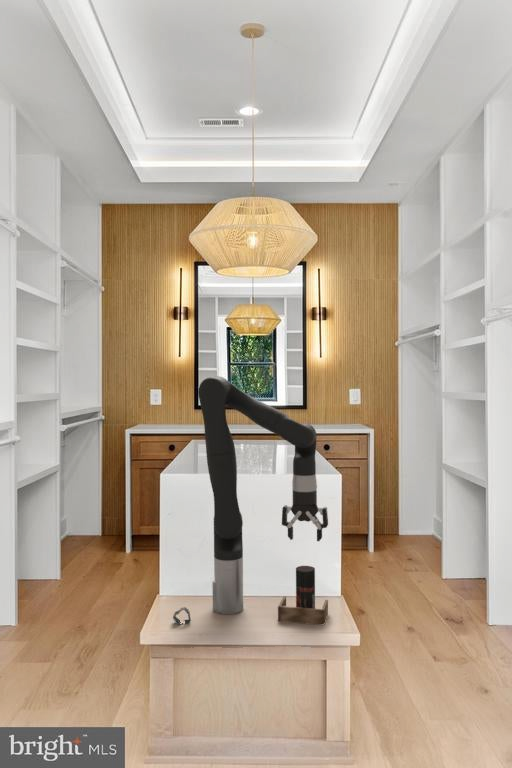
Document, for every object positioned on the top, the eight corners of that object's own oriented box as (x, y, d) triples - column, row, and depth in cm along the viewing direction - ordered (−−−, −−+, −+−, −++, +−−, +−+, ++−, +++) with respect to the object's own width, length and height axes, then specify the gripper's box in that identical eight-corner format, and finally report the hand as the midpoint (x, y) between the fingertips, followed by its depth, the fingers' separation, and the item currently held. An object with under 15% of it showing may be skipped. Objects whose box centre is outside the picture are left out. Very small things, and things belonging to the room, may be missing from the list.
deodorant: (314, 620, 203) (313, 572, 203) (294, 618, 205) (294, 571, 204) (316, 612, 209) (315, 566, 209) (297, 611, 210) (297, 565, 210)
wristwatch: (182, 625, 204) (171, 615, 203) (194, 614, 204) (183, 603, 203) (182, 630, 201) (170, 620, 200) (194, 619, 201) (183, 608, 200)
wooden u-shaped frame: (278, 620, 203) (278, 606, 203) (283, 610, 212) (283, 596, 211) (324, 625, 200) (323, 610, 199) (327, 613, 208) (327, 599, 208)
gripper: (279, 490, 203) (280, 542, 204) (325, 491, 200) (326, 544, 201) (284, 485, 210) (285, 535, 211) (328, 486, 207) (329, 537, 208)
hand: (305, 539), depth 206 cm, fingers open, 8 cm apart
